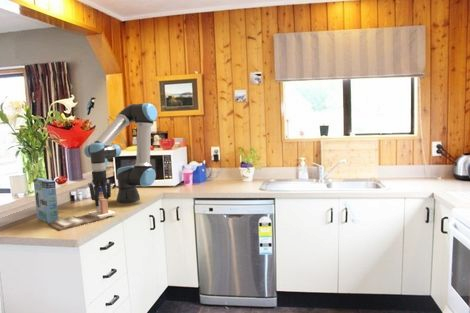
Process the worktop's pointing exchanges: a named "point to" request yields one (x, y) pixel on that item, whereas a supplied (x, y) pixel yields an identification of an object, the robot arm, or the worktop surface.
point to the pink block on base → (103, 209)
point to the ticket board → (74, 221)
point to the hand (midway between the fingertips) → (102, 210)
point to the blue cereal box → (46, 200)
